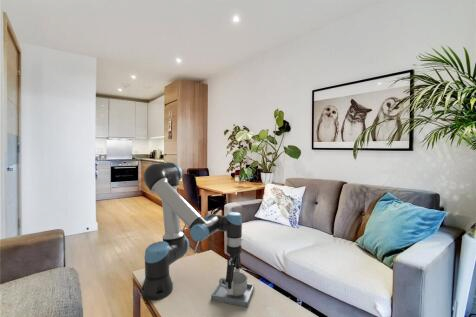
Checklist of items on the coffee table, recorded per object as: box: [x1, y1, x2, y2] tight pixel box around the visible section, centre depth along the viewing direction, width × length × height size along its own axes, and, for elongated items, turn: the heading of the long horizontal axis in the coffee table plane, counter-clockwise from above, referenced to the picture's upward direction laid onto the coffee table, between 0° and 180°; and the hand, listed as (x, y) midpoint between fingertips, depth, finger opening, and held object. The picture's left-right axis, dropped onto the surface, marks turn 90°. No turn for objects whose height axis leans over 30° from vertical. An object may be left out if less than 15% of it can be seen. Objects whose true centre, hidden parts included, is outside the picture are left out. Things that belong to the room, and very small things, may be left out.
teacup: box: [218, 272, 248, 297], centre depth 120 cm, size 14×11×8 cm
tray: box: [210, 280, 255, 308], centre depth 120 cm, size 18×15×2 cm
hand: (233, 287), depth 120 cm, fingers closed on teacup, 11 cm apart
